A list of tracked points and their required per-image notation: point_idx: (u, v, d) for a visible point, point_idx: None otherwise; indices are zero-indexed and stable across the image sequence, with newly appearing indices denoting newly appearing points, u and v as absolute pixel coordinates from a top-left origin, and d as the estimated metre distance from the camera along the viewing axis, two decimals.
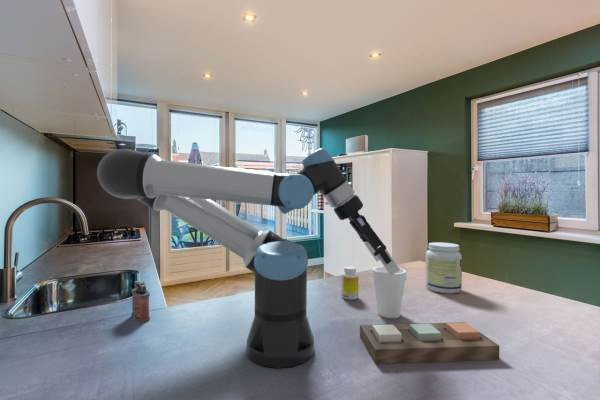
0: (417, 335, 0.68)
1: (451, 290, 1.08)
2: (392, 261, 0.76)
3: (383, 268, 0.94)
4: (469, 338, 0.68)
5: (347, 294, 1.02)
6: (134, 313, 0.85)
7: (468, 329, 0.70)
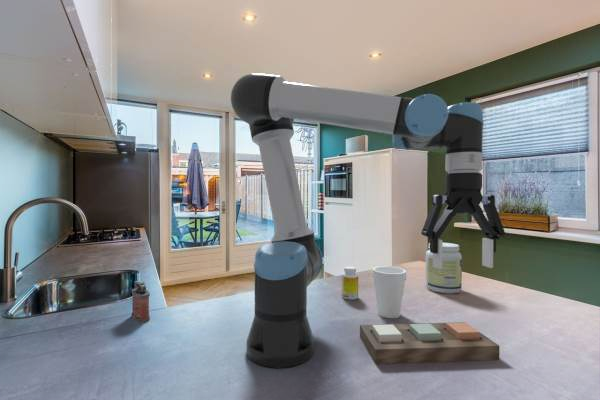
0: (417, 335, 0.68)
1: (451, 290, 1.08)
2: (438, 255, 0.69)
3: (383, 268, 0.94)
4: (469, 338, 0.68)
5: (347, 294, 1.02)
6: (134, 313, 0.85)
7: (468, 329, 0.70)
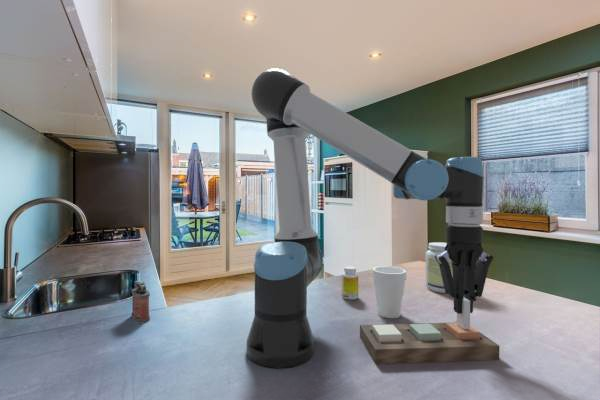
0: (417, 335, 0.68)
1: None
2: (462, 316, 0.70)
3: (383, 268, 0.94)
4: (469, 338, 0.68)
5: (347, 294, 1.02)
6: (134, 313, 0.85)
7: (468, 329, 0.70)
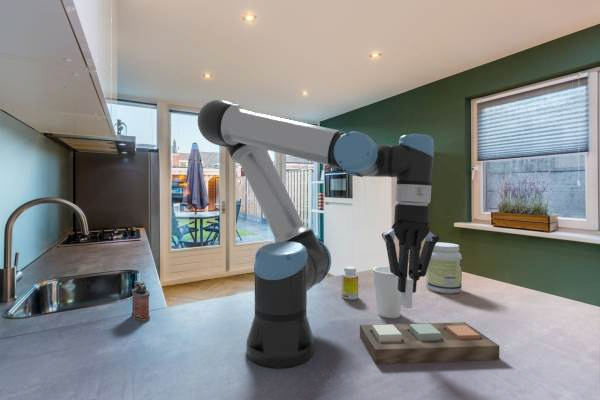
0: (417, 335, 0.68)
1: (451, 290, 1.08)
2: (405, 295, 0.69)
3: (383, 268, 0.94)
4: None
5: (347, 294, 1.02)
6: (134, 313, 0.85)
7: (467, 332, 0.70)
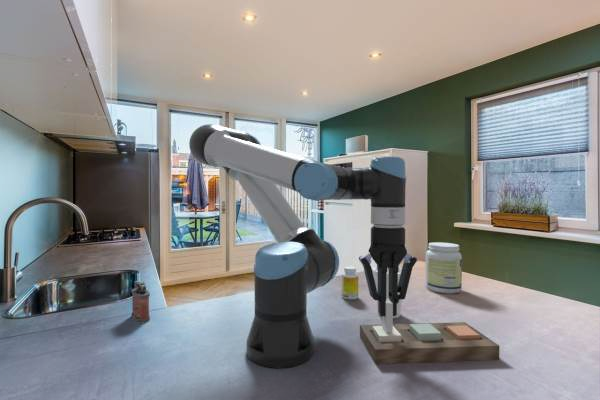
0: (417, 335, 0.68)
1: (451, 290, 1.08)
2: (385, 319, 0.68)
3: None
4: None
5: (347, 294, 1.02)
6: (134, 313, 0.85)
7: (467, 332, 0.70)
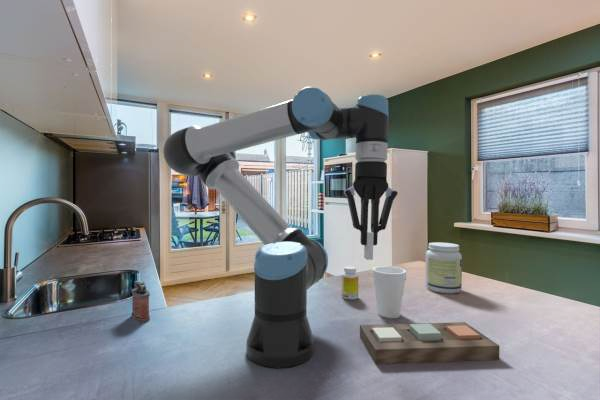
0: (417, 335, 0.68)
1: (451, 290, 1.08)
2: (366, 247, 0.74)
3: (383, 268, 0.94)
4: None
5: (347, 294, 1.02)
6: (134, 313, 0.85)
7: (467, 332, 0.70)
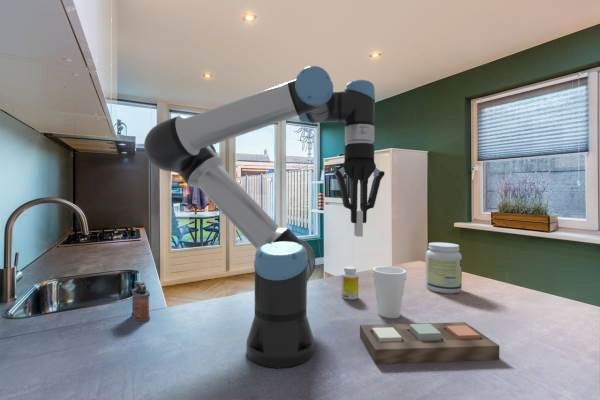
0: (417, 335, 0.68)
1: (451, 290, 1.08)
2: (356, 225, 0.78)
3: (383, 268, 0.94)
4: None
5: (347, 294, 1.02)
6: (134, 313, 0.85)
7: (467, 332, 0.70)
